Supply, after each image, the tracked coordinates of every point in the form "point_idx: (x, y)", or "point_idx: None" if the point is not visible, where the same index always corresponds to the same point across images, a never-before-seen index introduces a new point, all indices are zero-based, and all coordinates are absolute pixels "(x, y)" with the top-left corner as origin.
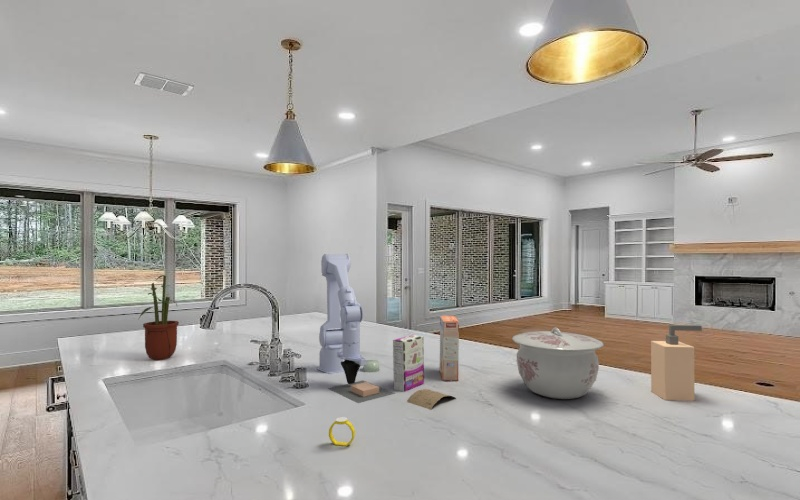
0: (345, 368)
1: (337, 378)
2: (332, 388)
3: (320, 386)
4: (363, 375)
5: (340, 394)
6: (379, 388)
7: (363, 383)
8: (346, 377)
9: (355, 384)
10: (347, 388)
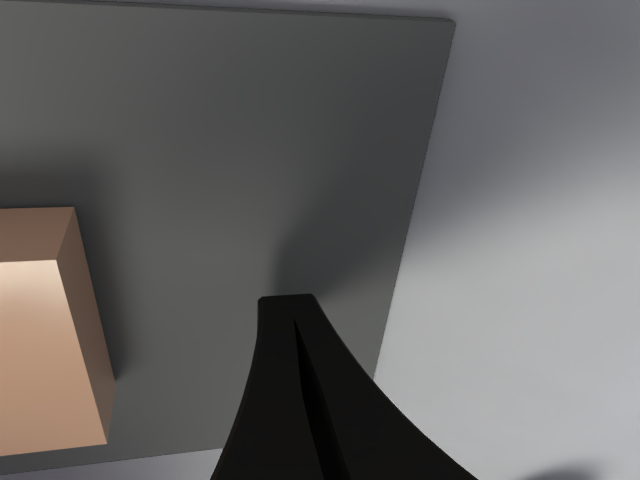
0: (348, 474)
1: (617, 307)
2: (384, 79)
3: (626, 16)
4: (473, 464)
5: (14, 4)
6: (22, 454)
7: (61, 407)
8: (325, 343)
9: (72, 326)
10: (239, 233)
